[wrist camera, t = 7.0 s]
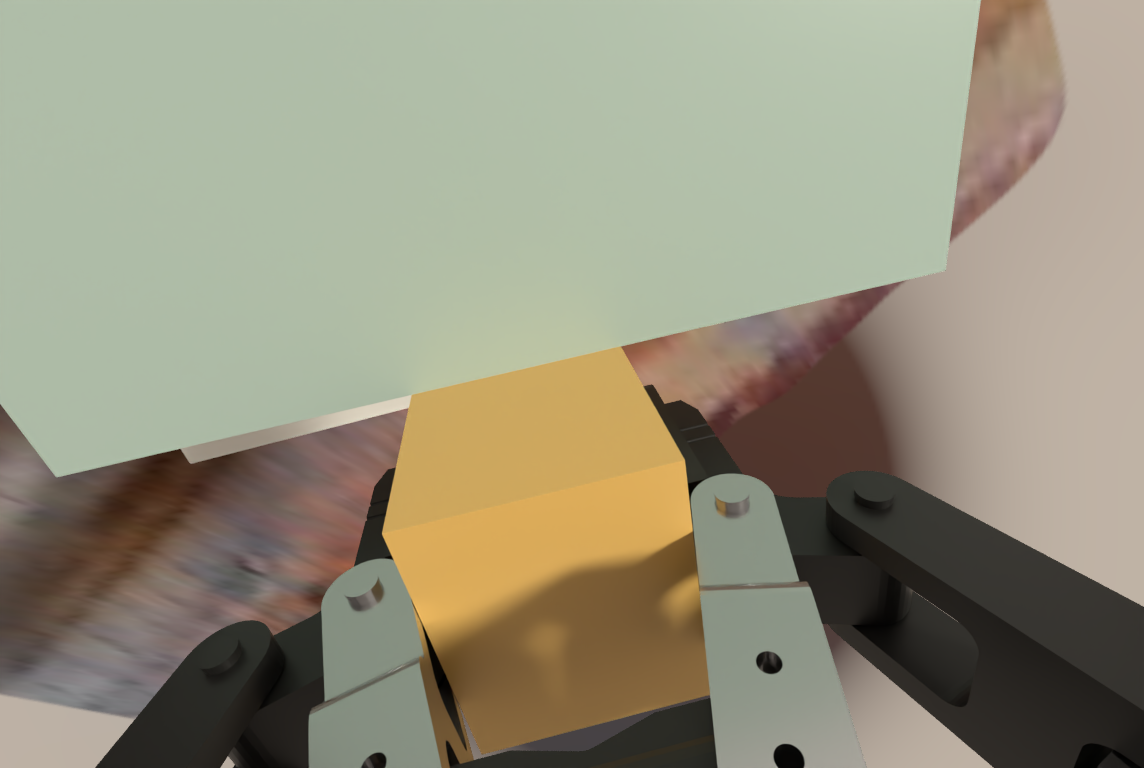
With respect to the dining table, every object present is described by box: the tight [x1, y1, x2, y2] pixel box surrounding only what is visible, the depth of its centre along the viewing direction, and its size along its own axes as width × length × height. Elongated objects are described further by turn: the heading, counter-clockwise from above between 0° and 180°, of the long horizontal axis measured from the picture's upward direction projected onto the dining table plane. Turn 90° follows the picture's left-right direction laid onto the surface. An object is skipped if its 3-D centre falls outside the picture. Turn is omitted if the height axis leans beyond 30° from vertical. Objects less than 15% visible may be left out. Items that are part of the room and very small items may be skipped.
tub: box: [181, 395, 411, 464], centre depth 28 cm, size 16×12×7 cm
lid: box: [0, 0, 981, 754], centre depth 8 cm, size 17×18×6 cm
